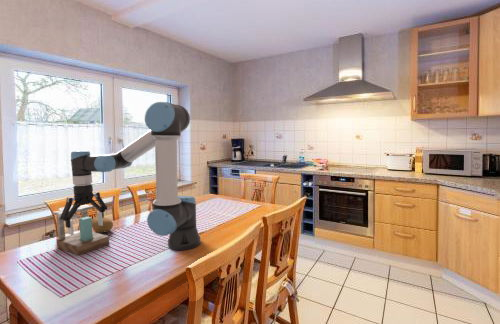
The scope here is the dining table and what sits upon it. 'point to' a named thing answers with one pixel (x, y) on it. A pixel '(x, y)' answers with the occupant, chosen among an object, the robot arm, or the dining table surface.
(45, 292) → the dining table surface
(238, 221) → the dining table surface
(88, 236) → the peg
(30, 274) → the dining table surface
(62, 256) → the dining table surface
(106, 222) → the potato
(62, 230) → the socket stand
